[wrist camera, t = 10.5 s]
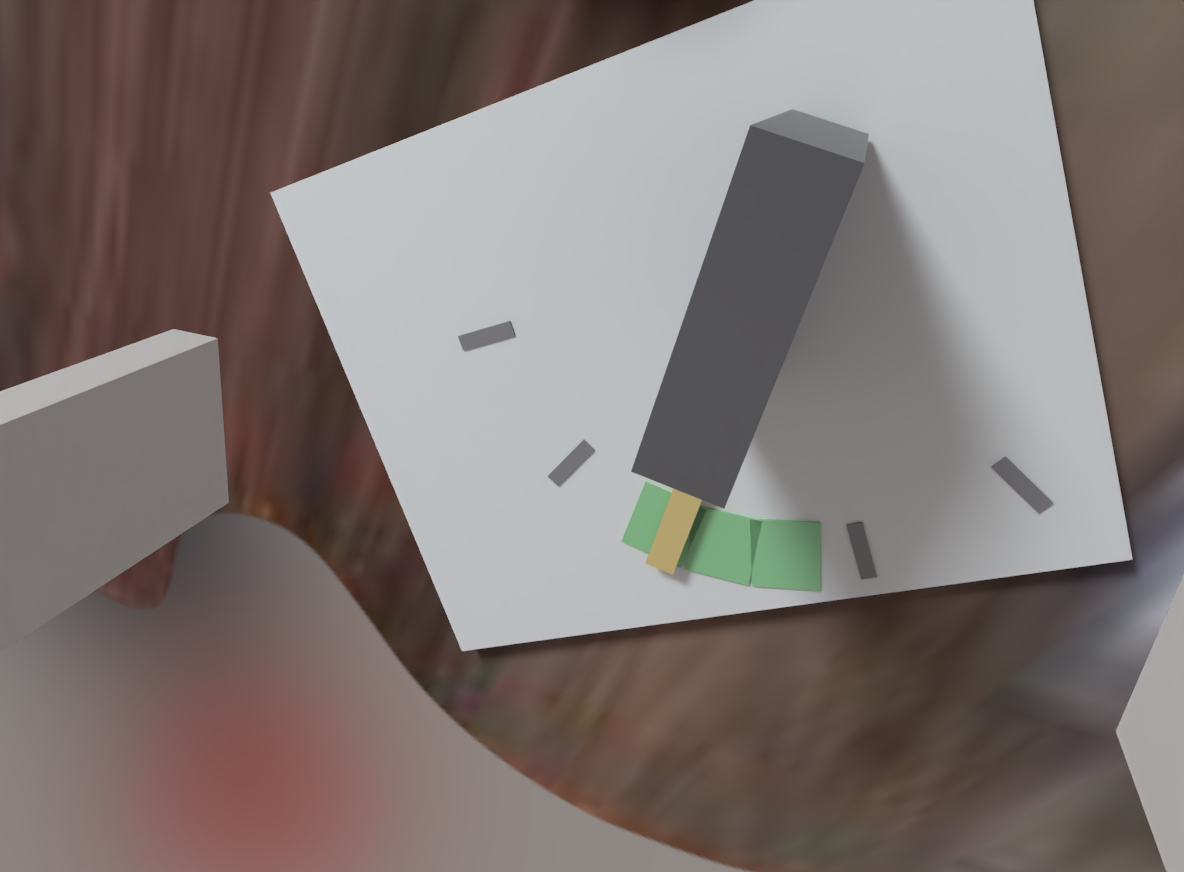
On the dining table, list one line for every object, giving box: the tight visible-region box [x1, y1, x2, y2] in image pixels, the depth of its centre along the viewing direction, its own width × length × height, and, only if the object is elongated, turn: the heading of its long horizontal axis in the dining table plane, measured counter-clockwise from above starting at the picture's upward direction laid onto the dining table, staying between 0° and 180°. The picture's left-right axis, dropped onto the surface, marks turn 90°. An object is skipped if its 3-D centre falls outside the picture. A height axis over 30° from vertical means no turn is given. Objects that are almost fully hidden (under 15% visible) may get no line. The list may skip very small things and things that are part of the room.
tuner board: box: [271, 0, 1133, 651], centre depth 34 cm, size 28×22×1 cm
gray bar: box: [631, 109, 869, 575], centre depth 28 cm, size 18×3×11 cm, turn 163°
